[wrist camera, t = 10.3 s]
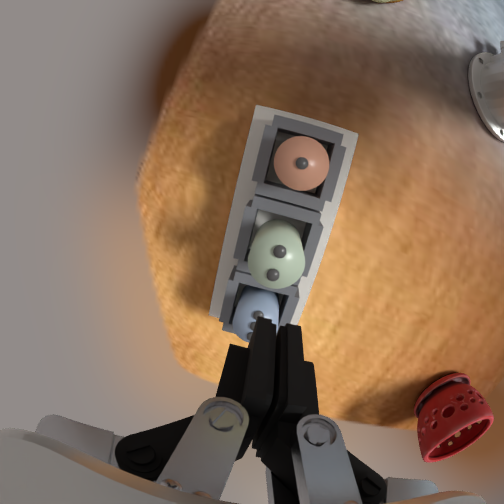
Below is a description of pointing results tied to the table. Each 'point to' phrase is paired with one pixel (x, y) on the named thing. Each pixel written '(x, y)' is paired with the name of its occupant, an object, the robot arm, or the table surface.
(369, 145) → the table surface
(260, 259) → the button two pip
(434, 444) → the plant pot
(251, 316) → the button three pip
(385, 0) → the decorated donut
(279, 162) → the button one pip
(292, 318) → the button board
